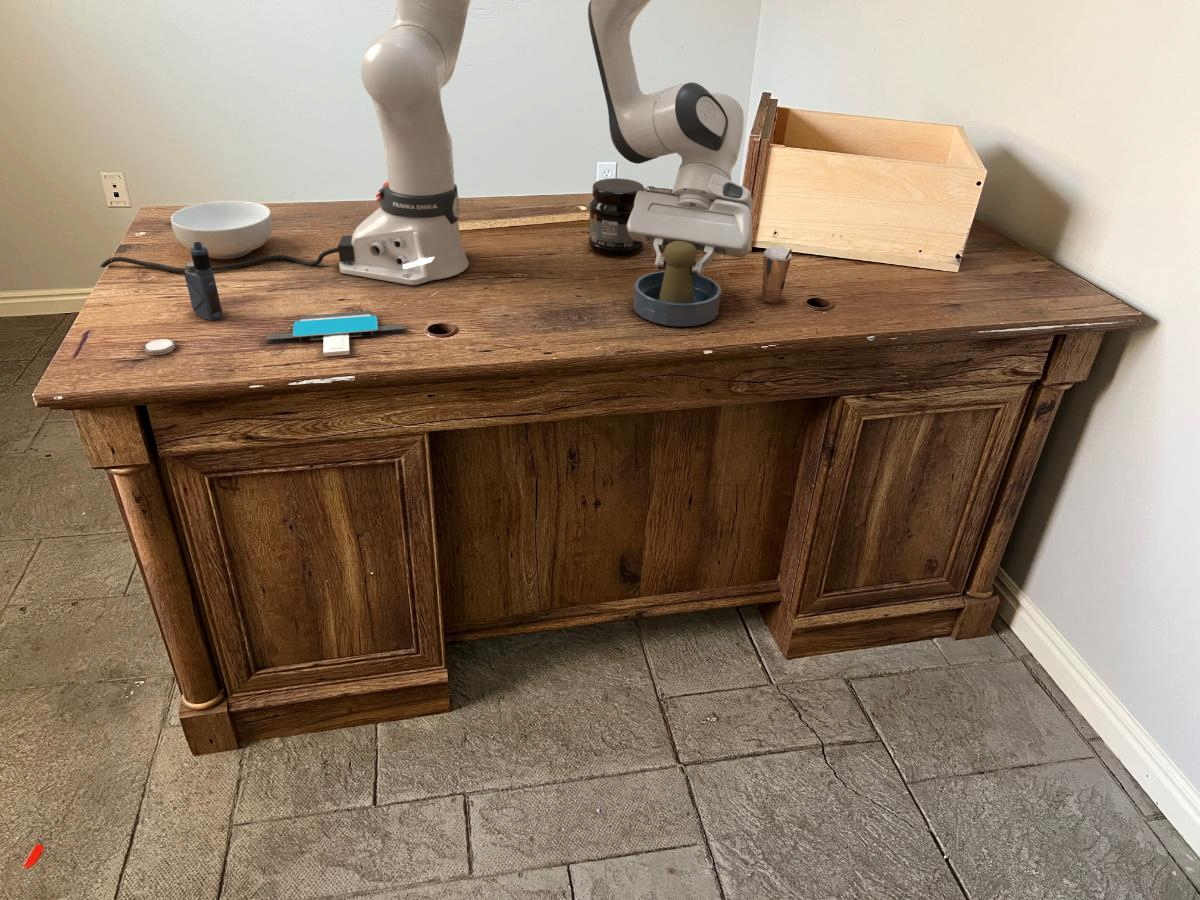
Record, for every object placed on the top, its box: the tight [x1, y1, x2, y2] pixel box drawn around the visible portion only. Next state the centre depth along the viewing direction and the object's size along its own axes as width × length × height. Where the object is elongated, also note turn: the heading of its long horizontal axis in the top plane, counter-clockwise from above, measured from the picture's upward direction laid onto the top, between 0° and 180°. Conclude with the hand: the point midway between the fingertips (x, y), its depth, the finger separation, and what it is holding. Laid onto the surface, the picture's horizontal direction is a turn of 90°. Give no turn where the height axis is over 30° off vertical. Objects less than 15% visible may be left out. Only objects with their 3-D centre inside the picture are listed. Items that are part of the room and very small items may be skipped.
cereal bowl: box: [170, 200, 273, 260], centre depth 154 cm, size 17×17×7 cm
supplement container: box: [588, 177, 645, 258], centre depth 161 cm, size 10×10×12 cm
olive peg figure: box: [659, 241, 698, 304], centre depth 138 cm, size 6×6×11 cm
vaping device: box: [184, 242, 224, 322], centre depth 130 cm, size 3×5×12 cm, turn 58°
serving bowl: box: [632, 270, 722, 328], centre depth 140 cm, size 14×14×4 cm
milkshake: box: [761, 245, 793, 304], centre depth 143 cm, size 5×5×10 cm
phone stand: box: [265, 310, 405, 358], centre depth 128 cm, size 20×12×2 cm, turn 105°
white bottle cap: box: [143, 338, 176, 356], centre depth 124 cm, size 4×4×1 cm
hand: (677, 271), depth 137 cm, fingers closed on olive peg figure, 5 cm apart
